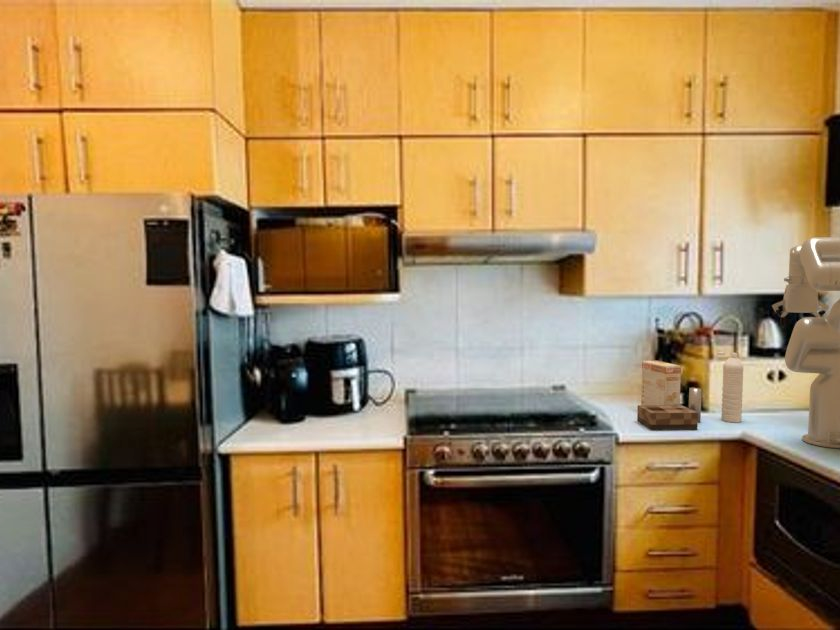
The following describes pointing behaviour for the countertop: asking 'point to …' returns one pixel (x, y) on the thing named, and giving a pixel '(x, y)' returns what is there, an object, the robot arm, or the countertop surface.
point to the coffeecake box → (660, 383)
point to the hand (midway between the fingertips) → (798, 328)
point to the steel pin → (695, 401)
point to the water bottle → (732, 388)
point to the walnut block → (667, 417)
